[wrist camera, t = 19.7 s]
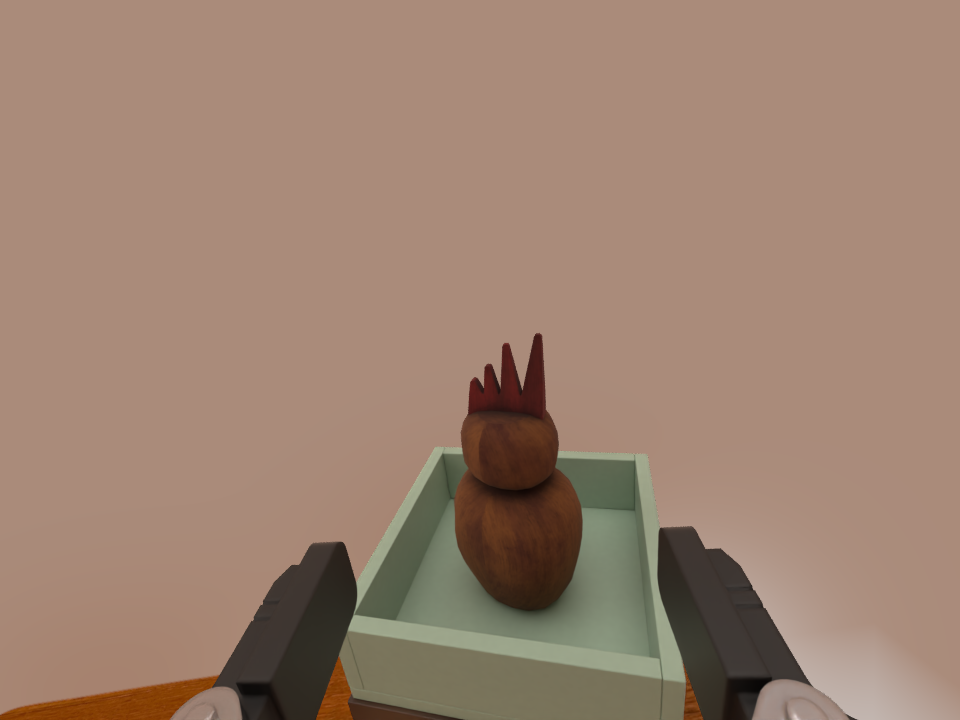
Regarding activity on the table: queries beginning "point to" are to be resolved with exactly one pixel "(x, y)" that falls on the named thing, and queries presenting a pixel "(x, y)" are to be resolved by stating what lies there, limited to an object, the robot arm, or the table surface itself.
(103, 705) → the table surface
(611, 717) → the bin
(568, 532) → the wooden figurine
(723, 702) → the robot arm
